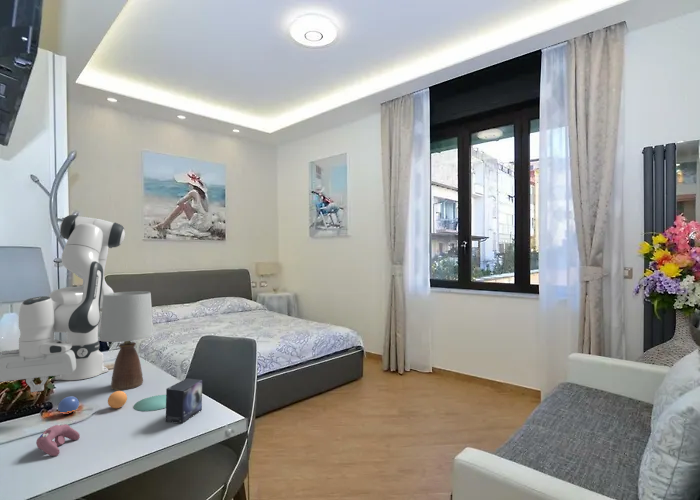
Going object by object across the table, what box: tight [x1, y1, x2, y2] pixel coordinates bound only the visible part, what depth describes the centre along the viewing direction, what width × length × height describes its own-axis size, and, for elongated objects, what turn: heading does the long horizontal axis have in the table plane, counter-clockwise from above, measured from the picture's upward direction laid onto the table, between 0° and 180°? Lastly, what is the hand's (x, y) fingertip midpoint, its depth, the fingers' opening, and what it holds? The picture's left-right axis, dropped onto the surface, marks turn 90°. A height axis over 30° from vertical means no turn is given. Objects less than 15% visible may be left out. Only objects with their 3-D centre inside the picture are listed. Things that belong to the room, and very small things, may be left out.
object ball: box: [107, 390, 128, 409], centre depth 127 cm, size 6×6×6 cm
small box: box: [165, 378, 203, 424], centre depth 120 cm, size 11×6×10 cm, turn 168°
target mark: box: [133, 394, 166, 412], centre depth 131 cm, size 14×14×1 cm
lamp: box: [99, 290, 154, 391], centre depth 149 cm, size 19×19×37 cm
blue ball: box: [57, 395, 80, 413], centre depth 122 cm, size 6×6×6 cm
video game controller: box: [35, 422, 81, 457], centre depth 101 cm, size 10×5×7 cm, turn 5°
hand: (37, 391), depth 119 cm, fingers closed
